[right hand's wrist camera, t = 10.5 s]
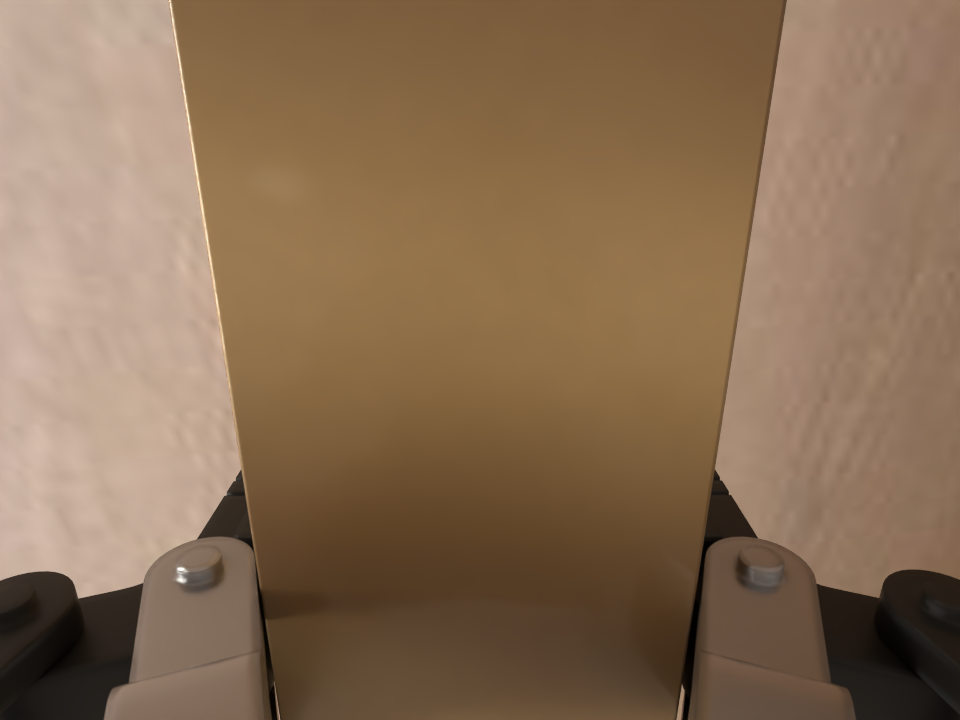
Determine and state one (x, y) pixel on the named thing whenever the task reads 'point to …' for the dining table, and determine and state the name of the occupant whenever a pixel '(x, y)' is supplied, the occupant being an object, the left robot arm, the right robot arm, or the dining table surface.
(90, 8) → the dining table surface
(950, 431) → the dining table surface
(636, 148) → the post
